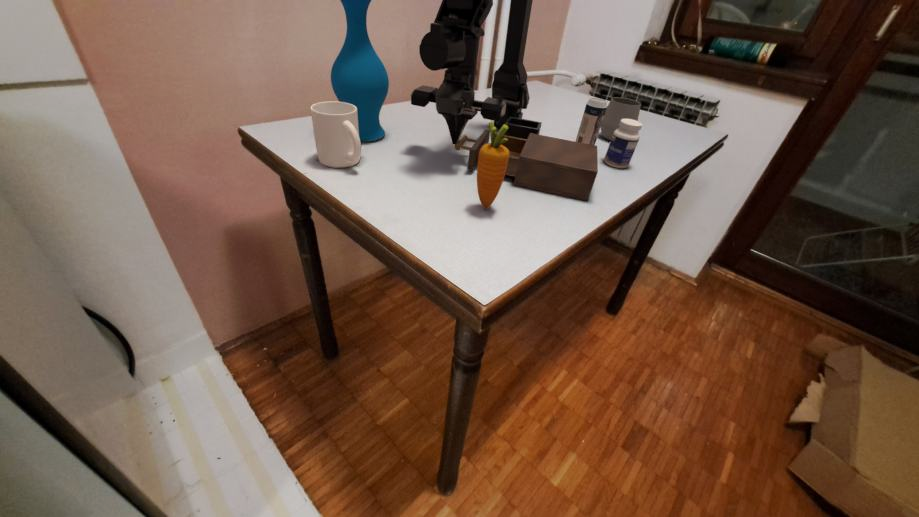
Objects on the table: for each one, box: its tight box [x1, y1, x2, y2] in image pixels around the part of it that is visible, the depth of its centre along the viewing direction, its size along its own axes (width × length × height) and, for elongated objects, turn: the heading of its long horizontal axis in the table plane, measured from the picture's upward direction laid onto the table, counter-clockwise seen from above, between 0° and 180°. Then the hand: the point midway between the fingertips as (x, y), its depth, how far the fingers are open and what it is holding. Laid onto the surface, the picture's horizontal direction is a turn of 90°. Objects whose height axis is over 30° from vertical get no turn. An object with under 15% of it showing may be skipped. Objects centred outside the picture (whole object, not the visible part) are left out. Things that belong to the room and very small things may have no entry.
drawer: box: [453, 129, 527, 178], centre depth 77 cm, size 18×13×4 cm
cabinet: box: [513, 133, 599, 202], centre depth 75 cm, size 15×15×6 cm
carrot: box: [476, 120, 510, 210], centre depth 59 cm, size 5×5×15 cm
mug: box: [310, 100, 362, 169], centre depth 70 cm, size 12×8×10 cm
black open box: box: [504, 117, 543, 139], centre depth 88 cm, size 8×6×6 cm
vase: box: [330, 0, 390, 143], centre depth 77 cm, size 12×13×28 cm
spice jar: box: [574, 97, 608, 146], centre depth 89 cm, size 5×5×12 cm
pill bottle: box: [603, 119, 643, 169], centre depth 84 cm, size 6×6×10 cm
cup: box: [600, 96, 642, 142], centre depth 99 cm, size 10×9×10 cm
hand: (454, 143), depth 79 cm, fingers closed
